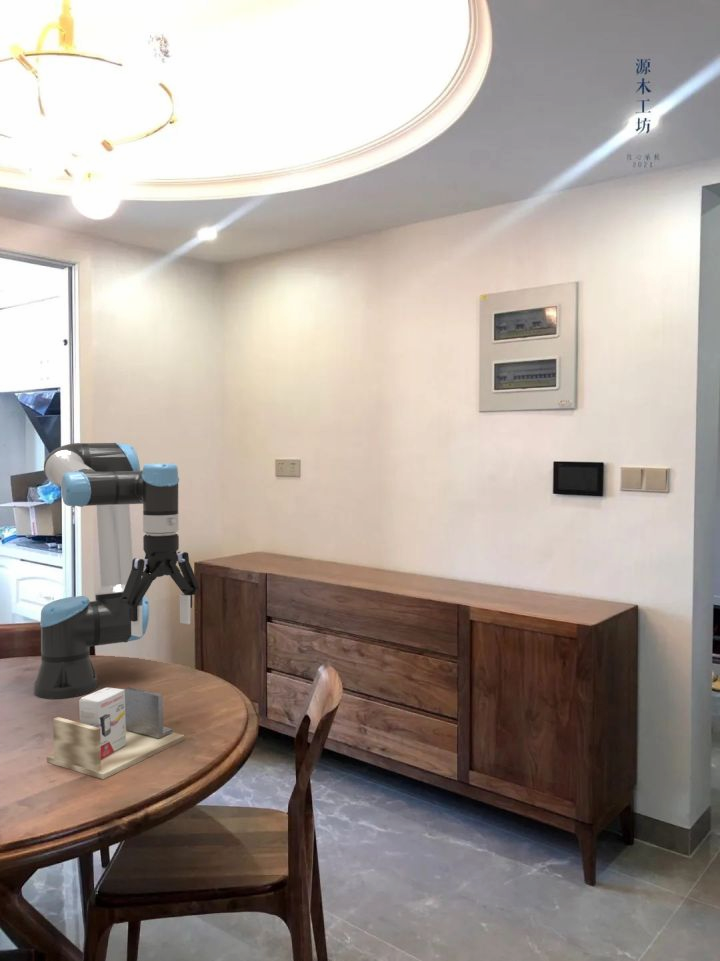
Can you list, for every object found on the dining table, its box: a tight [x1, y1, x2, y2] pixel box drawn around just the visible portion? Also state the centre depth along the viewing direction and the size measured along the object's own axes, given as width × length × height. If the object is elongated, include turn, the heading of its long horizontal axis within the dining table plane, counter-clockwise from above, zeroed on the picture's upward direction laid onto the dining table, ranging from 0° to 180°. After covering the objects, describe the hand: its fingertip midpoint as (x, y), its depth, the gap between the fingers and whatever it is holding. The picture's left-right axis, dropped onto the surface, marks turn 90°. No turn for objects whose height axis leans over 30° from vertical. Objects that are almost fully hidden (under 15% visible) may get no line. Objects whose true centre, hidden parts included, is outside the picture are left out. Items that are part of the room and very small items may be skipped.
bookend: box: [124, 686, 174, 738], centre depth 161 cm, size 10×4×9 cm, turn 60°
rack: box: [46, 716, 185, 780], centre depth 153 cm, size 16×22×9 cm
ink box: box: [78, 687, 126, 759], centre depth 150 cm, size 9×5×12 cm, turn 160°
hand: (161, 629), depth 164 cm, fingers open, 13 cm apart
